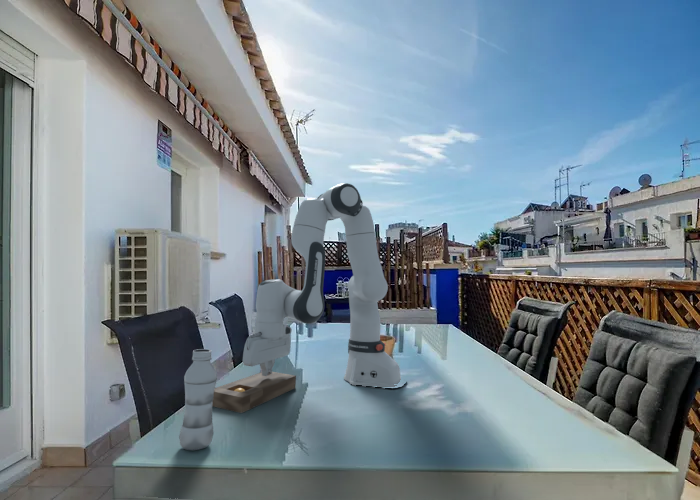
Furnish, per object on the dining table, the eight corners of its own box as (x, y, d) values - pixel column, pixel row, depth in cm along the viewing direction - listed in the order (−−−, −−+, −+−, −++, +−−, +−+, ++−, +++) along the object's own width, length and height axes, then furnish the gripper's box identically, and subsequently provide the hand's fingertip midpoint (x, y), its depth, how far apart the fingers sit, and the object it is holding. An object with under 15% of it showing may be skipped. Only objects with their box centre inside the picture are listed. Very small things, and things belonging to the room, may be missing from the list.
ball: (250, 398, 108) (248, 386, 108) (241, 407, 105) (239, 394, 104) (239, 396, 110) (237, 384, 109) (230, 404, 107) (227, 392, 106)
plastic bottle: (184, 440, 82) (190, 347, 83) (216, 440, 82) (222, 348, 84) (173, 454, 75) (180, 353, 77) (208, 454, 76) (214, 354, 77)
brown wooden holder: (295, 388, 123) (295, 375, 123) (241, 413, 99) (242, 397, 99) (265, 382, 128) (266, 370, 128) (207, 405, 104) (208, 390, 104)
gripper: (256, 335, 108) (253, 384, 107) (294, 327, 127) (292, 369, 126) (238, 333, 111) (236, 381, 110) (278, 326, 129) (277, 367, 128)
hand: (266, 375), depth 118 cm, fingers closed
